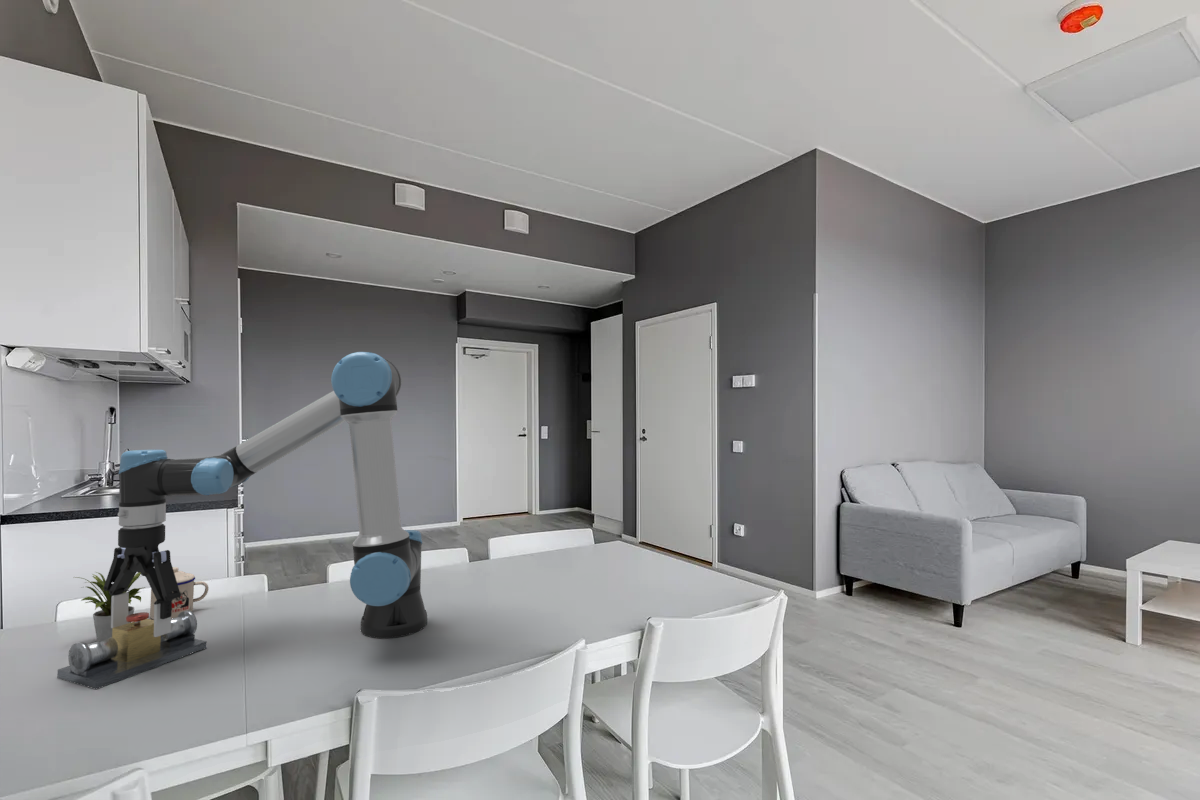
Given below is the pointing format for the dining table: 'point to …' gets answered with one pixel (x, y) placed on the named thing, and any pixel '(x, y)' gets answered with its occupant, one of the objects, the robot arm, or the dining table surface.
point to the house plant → (107, 606)
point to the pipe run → (100, 669)
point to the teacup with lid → (182, 594)
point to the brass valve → (136, 638)
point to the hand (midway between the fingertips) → (140, 630)
